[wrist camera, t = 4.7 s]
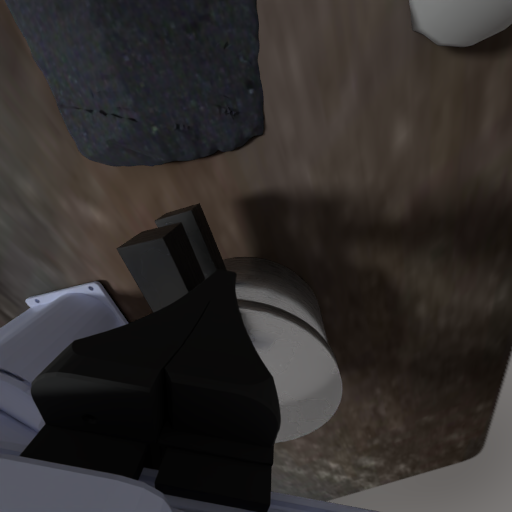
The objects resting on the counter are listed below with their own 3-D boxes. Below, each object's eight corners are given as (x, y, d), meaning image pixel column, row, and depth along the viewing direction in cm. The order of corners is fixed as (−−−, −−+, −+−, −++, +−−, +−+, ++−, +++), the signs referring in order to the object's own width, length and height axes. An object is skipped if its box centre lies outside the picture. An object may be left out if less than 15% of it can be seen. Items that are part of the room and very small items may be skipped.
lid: (347, 424, 19) (358, 473, 16) (189, 431, 22) (176, 474, 19) (308, 185, 11) (319, 201, 8) (62, 246, 14) (6, 274, 11)
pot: (330, 356, 25) (344, 416, 19) (211, 371, 28) (195, 427, 22) (288, 169, 16) (292, 183, 11) (125, 218, 19) (67, 248, 14)
